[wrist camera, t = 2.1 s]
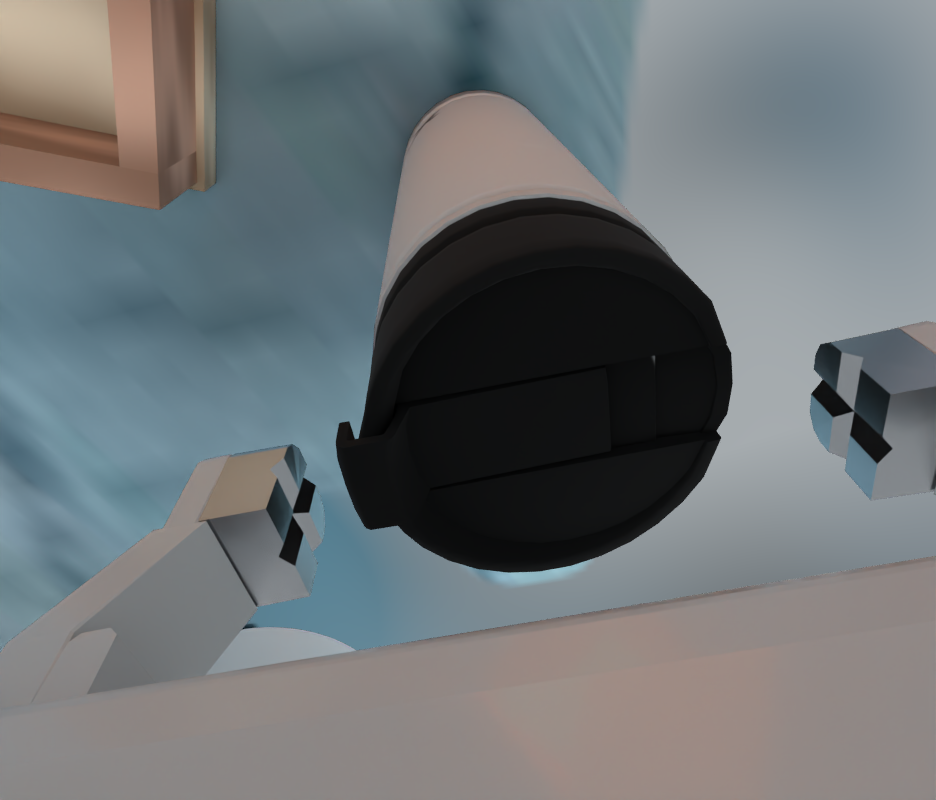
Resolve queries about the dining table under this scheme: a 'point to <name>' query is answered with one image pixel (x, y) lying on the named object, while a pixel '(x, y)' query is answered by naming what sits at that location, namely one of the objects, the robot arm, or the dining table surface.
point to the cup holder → (109, 97)
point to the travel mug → (528, 355)
